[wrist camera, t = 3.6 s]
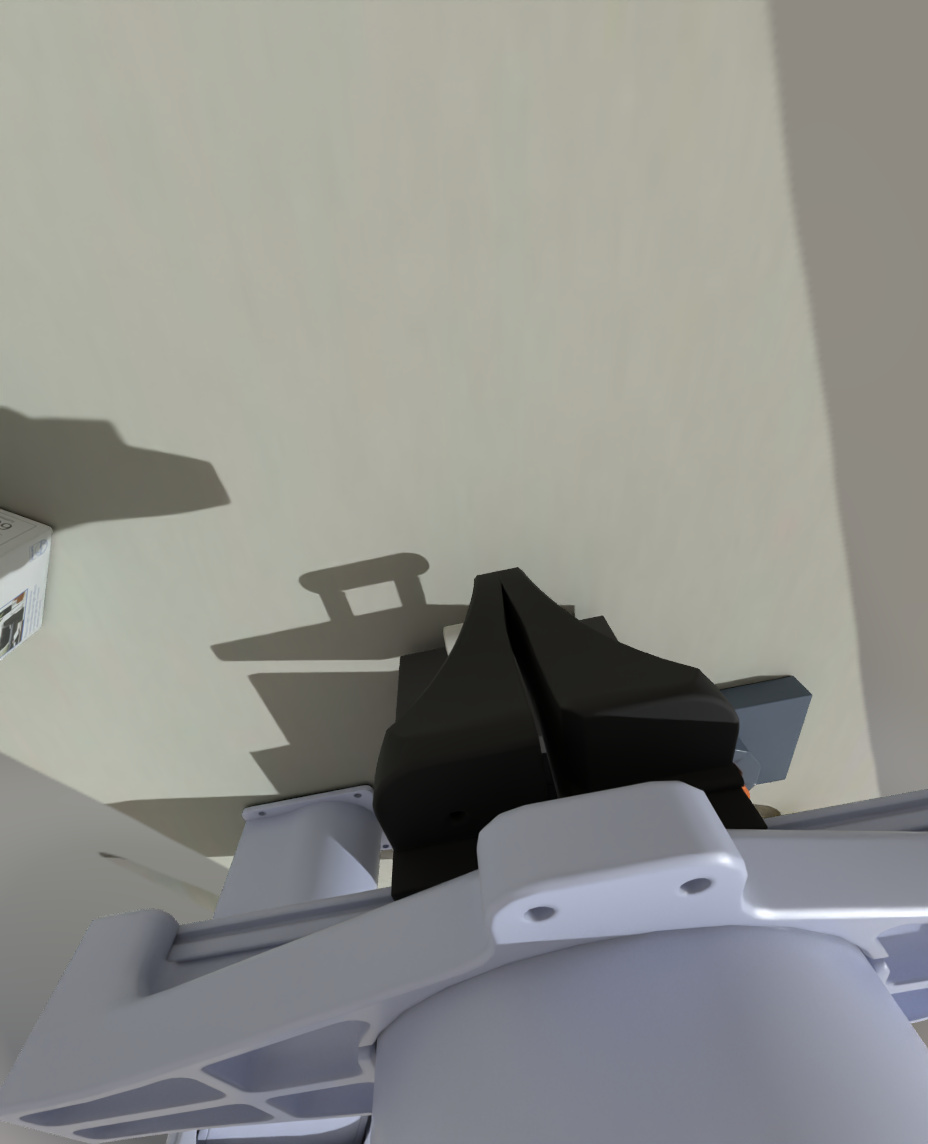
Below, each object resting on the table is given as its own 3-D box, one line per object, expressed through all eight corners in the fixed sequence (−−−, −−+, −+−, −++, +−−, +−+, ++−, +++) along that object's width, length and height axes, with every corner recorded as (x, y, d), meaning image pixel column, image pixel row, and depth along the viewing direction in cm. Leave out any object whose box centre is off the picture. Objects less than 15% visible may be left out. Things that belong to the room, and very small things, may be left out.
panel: (626, 786, 34) (645, 832, 31) (626, 707, 29) (649, 752, 26) (770, 759, 33) (804, 803, 30) (793, 675, 29) (836, 717, 26)
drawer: (378, 595, 22) (361, 697, 16) (601, 550, 22) (665, 637, 16) (449, 795, 31) (455, 906, 25) (607, 765, 31) (650, 871, 25)
